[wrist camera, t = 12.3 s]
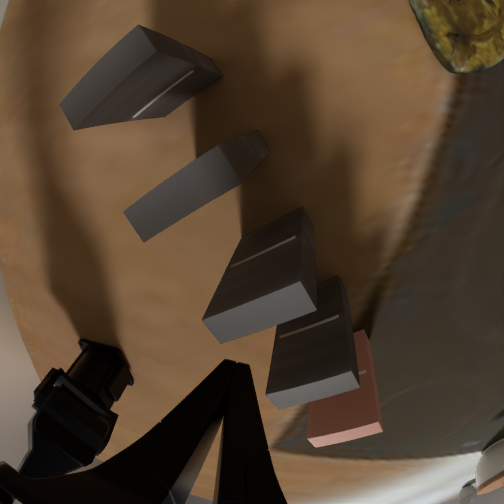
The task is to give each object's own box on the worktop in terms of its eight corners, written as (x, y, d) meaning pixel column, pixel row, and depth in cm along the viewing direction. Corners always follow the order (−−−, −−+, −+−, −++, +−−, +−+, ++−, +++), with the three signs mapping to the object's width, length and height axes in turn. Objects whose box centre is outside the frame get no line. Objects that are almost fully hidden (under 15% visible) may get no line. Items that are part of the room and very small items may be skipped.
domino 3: (241, 236, 22) (200, 319, 13) (302, 206, 20) (299, 280, 12) (253, 255, 22) (221, 344, 14) (313, 227, 21) (317, 311, 12)
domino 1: (153, 99, 18) (59, 103, 10) (210, 57, 16) (138, 23, 8) (164, 117, 19) (74, 131, 10) (223, 76, 17) (157, 52, 8)
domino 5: (311, 347, 25) (306, 438, 17) (363, 328, 24) (378, 421, 15) (318, 358, 26) (315, 447, 18) (369, 341, 24) (383, 431, 16)
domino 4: (280, 298, 24) (264, 394, 15) (338, 274, 22) (350, 370, 13) (290, 313, 24) (278, 409, 16) (346, 291, 22) (360, 387, 14)
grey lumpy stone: (462, 485, 43) (465, 505, 37) (479, 479, 42) (483, 498, 36) (450, 492, 46) (453, 511, 39) (468, 487, 45) (471, 505, 39)
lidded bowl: (484, 440, 31) (495, 488, 22) (531, 420, 29) (545, 462, 19) (462, 466, 37) (468, 507, 27) (506, 450, 34) (515, 487, 24)
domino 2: (196, 166, 20) (122, 210, 12) (257, 129, 18) (217, 143, 10) (209, 187, 20) (144, 243, 12) (270, 151, 19) (242, 184, 10)
